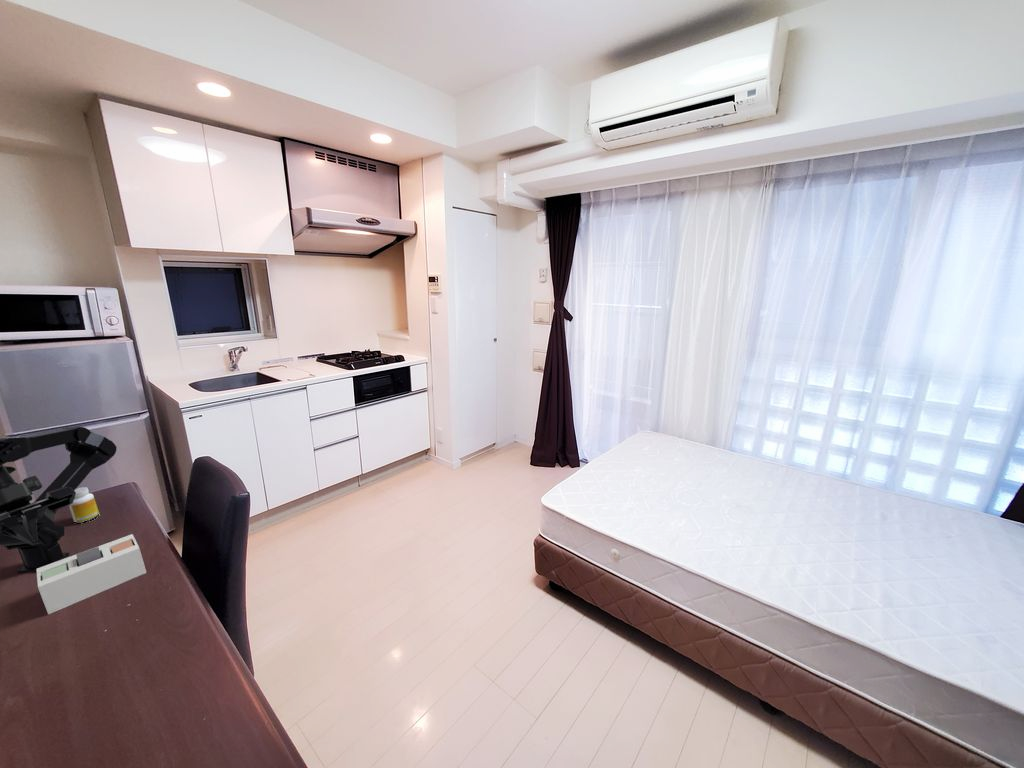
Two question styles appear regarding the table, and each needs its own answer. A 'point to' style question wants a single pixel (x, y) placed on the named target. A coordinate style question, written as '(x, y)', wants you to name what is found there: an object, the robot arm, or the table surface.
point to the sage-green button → (54, 572)
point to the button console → (90, 575)
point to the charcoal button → (88, 556)
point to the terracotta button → (122, 546)
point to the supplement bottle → (83, 505)
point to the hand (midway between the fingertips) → (35, 543)
